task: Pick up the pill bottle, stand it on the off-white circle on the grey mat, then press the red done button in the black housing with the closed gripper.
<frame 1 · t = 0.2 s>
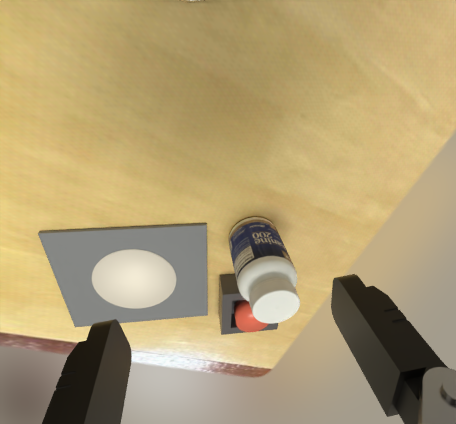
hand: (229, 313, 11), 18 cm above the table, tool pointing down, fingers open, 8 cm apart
pill bottle: (251, 234, 32), on the table
button housing: (246, 293, 36), on the table
grey mat: (135, 277, 32), on the table
done button: (251, 313, 33), point 3 cm above the table, slide at 0.0 cm
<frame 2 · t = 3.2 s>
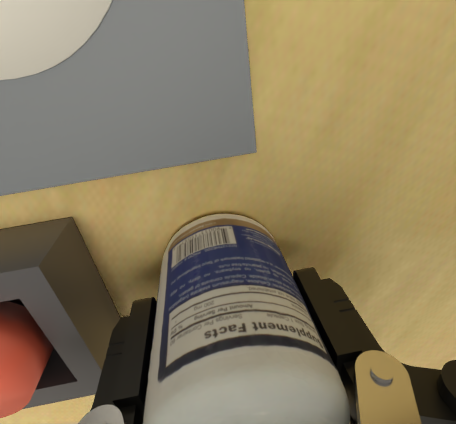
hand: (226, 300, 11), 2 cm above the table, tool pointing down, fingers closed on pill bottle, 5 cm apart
pill bottle: (220, 256, 14), on the table, touching gripper
button housing: (25, 296, 13), on the table
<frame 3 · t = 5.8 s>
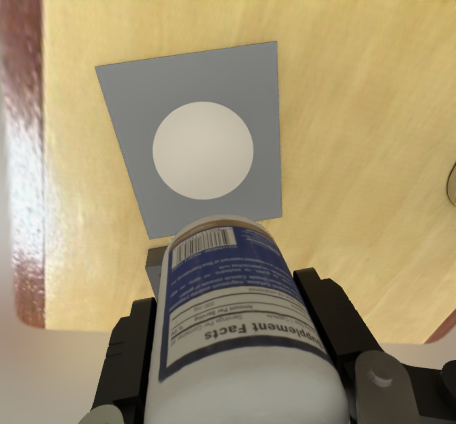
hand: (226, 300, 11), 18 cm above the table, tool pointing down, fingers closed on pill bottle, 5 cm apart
pill bottle: (220, 257, 14), point 15 cm above the table, touching gripper
button housing: (187, 268, 33), on the table
grey mat: (203, 153, 26), on the table
when the fingers open (4 cm above the table, at t = 8.8 s): pill bottle drops 1 cm, resting on grey mat.
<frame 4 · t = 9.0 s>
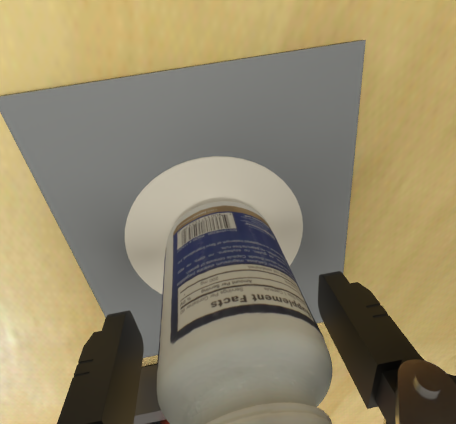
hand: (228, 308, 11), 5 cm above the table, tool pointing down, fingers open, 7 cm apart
pill bottle: (219, 241, 15), resting on grey mat
button housing: (189, 387, 21), on the table
grey mat: (216, 236, 15), on the table
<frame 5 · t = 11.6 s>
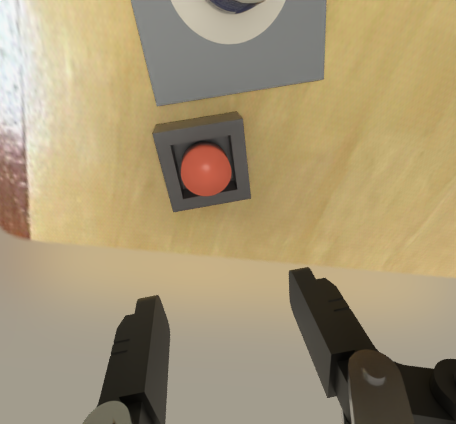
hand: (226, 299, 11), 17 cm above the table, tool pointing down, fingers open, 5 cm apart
button housing: (203, 156, 26), on the table
done button: (205, 169, 24), point 3 cm above the table, slide at 0.0 cm
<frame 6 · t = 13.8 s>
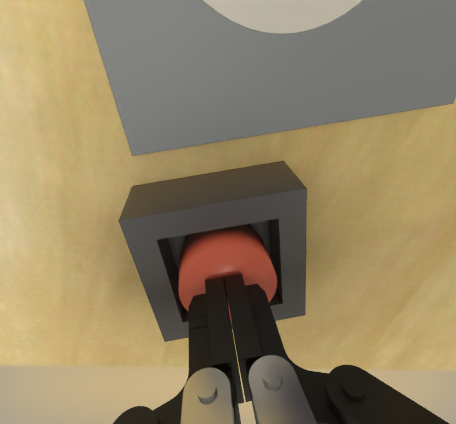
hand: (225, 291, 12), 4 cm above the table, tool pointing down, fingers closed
button housing: (219, 235, 15), on the table
done button: (225, 272, 12), point 3 cm above the table, slide at 0.3 cm, touching gripper
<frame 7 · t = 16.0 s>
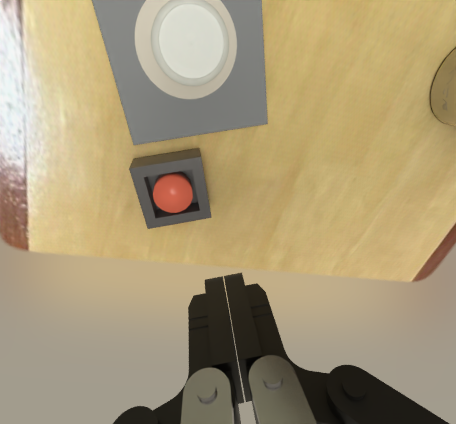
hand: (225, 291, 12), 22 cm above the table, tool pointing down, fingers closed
pill bottle: (188, 45, 26), resting on grey mat
button housing: (173, 183, 32), on the table
grey mat: (187, 45, 26), on the table
done button: (173, 191, 30), point 2 cm above the table, slide at 0.9 cm
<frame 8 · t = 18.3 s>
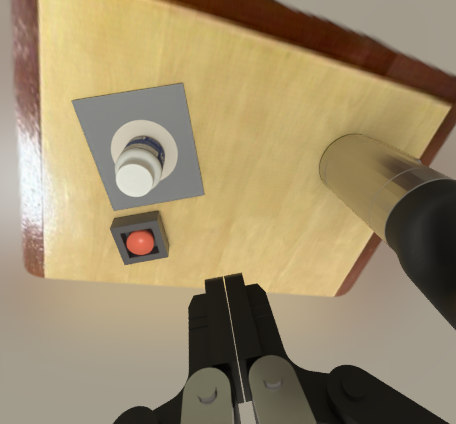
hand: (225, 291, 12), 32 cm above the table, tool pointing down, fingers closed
pill bottle: (146, 152, 40), resting on grey mat
button housing: (142, 232, 47), on the table
grey mat: (145, 152, 40), on the table
done button: (141, 240, 45), point 2 cm above the table, slide at 0.9 cm
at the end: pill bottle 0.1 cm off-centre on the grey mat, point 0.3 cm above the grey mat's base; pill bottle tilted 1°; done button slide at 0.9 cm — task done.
